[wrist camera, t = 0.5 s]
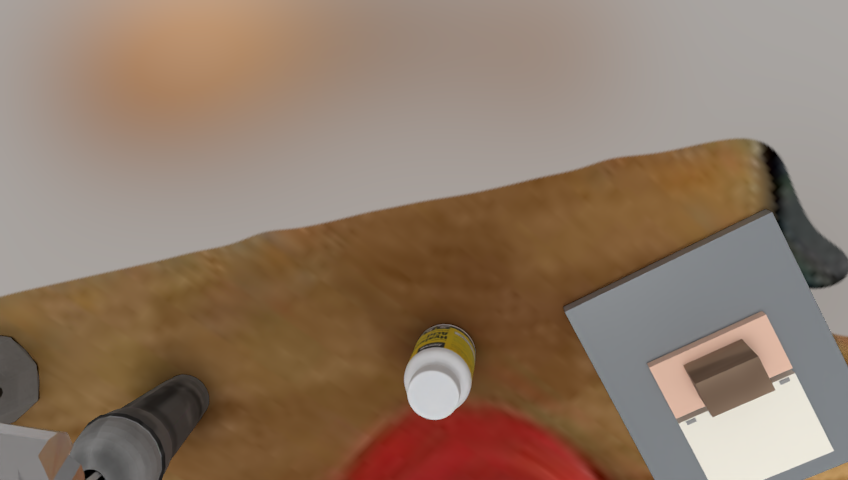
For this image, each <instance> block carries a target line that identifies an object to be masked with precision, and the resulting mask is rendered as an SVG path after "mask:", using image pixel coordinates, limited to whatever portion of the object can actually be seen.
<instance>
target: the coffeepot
mask: <svg viewBox="0 0 848 480" xmlns="http://www.w3.org/2000/svg"><path fill="white" fill-rule="evenodd" d="M38 396H39V375H38V371H37V365H36V364H35V362H34V361H33V359H32V358H31V356H30V355H29V354H28V353H27V351H26V350H25V349H24V348H23V347H22V346H20V345H19V344H18V343H16V342H15V341H13V339H12V338H11V337H5V336H0V423H4V424H10V423H12V422H15V421H16V420H17V419H18V418H19V417H20V416H22V415H23V414H24V413H25V412H26V411H27V410H29V408H30V407H31V406H32V405H33V404H35V403H36V402H37V401H38Z"/></svg>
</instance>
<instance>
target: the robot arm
mask: <svg viewBox="0 0 848 480" xmlns="http://www.w3.org/2000/svg"><path fill="white" fill-rule="evenodd" d="M72 448H73V444H72V442H71V440H70V438H69V435H68V433H67V432H61V431H54V430H46V429H39V428H32V427H25V426H18V425H10V424H4V423H0V480H85V474H84V471H83V469H82V466H81V464H80V463H79V462H77V461H76V460H75V459H74V458H72V457H71V456H70V455H69V453H70V451H71V449H72Z"/></svg>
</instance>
